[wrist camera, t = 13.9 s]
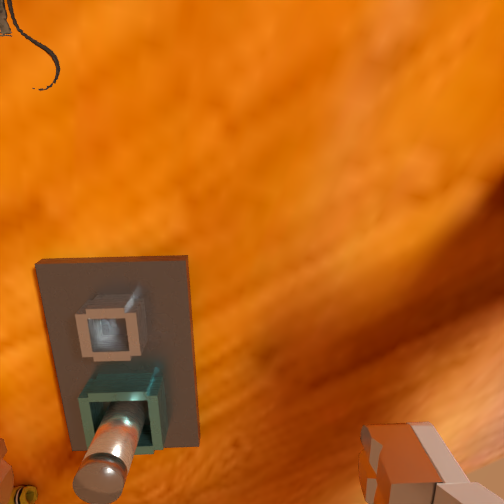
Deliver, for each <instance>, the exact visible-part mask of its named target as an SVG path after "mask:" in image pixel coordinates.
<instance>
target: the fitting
mask: <svg viewBox="0 0 504 504" xmlns="http://www.w3.org/2000/svg"><path fill="white" fill-rule="evenodd" d="M148 410H149V409H148V401H147V400H140V401H111V402H110V404H109V406H108V408H107V410H106V412H105V415H104V417H103V419H102V421H101V423H100V425H99V427H98V429H97V431H96V433H95V436H94V438H93V440H92V442H91V444H90V446H89V448H88V450H87V452H86V455H85V457H84V459H83V461H82V463H81V465H80V467H79V469H78V471H77V474H76V476H75V478H74V480H73V489H74V491H75V493H76V495H77V496H78V497H79V498H80V499H82V500H83V501H85V502H87V503H90V504H109V503H112V502H114V501H115V500H117V499H118V498H119V496H120V495H121V493H122V490H123V487H124V484H125V481H126V478H127V475H128V472H129V469H130V465H131V462H132V459H133V456H134V453H135V450H136V447H137V444H138V441H139V438H140V435H141V432H142V429H143V426H144V423H145V419H146V416H147V413H148Z"/></svg>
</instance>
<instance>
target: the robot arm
mask: <svg viewBox="0 0 504 504" xmlns="http://www.w3.org/2000/svg"><path fill="white" fill-rule="evenodd" d="M360 439H361V442H362V444H363V447H364V449H363V450H362V451H361V453H360V454H359V463H358V468H359V479H360V484H361V488H362V492H363V495H364V498H365V501H366V502H367V503H369V504H504V500H503V499H502V498H500V497H499V496H497V495H496V494H494V493H493V492H491V491H490V490H488V489H487V488H485V487H484V486H482V485H481V484H479V483H478V482H470V481H469V479H468V478H467V476H466V475H465V473H464V472H463V470H462V469H461V467H460V466H459V464H458V463H457V461H456V459H455V458H454V456H453V455H452V453H451V452H450V450H449V449H448V447H447V446H446V444H445V443H444V441H443V440H442V438H441V437H440V435H439V434H438V432H437V430H436V429H435V427H434V426H433V425H432V424H431V423H430V422H411V423H394V424H371V425H363V427H362V429H361V438H360ZM6 452H7V448H6V445H5V442H4V439H2V438H0V504H8V502H9V499H10V496H11V493H12V490H13V486H14V474H13V470H12V466H10V465H9V464H8V463H7V462H6V461H5V460H3V457H4V456H5V454H6Z"/></svg>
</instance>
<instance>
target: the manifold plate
mask: <svg viewBox="0 0 504 504" xmlns="http://www.w3.org/2000/svg"><path fill="white" fill-rule="evenodd" d="M35 268H36V273H37V278H38V283H39V288H40V293H41V298H42V303H43V308H44V313H45V318H46V323H47V328H48V333H49V337H50V342H51V347H52V352H53V357H54V362H55V367H56V372H57V377H58V382H59V387H60V392H61V397H62V402H63V407H64V412H65V417H66V422H67V427H68V432H69V437H70V442H71V447H72V451H86V450H88V448H89V446H90V444H91V442H92V440H93V438H94V436H95V433H96V431H97V429H98V427H99V425H100V423H101V421H102V419H103V417H104V415H105V412H106V410H107V408H108V406H109V404H110V402H111V401H140V400H147V401H148V409H149V410H148V413H147V416H146V419H145V423H144V426H143V429H142V432H141V435H140V438H139V441H138V444H137V447H136V450H135V453H134V455H138V454H154V451H155V450H163V448H171V447H199V444H200V423H199V409H198V395H197V380H196V366H195V352H194V338H193V323H192V309H191V295H190V281H189V266H188V255H182V256H140V257H98V258H56V259H41V260H40V261H39V262H37V263H36V264H35Z"/></svg>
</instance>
